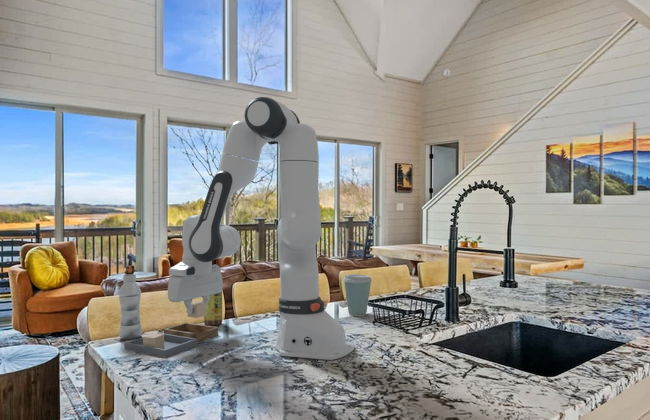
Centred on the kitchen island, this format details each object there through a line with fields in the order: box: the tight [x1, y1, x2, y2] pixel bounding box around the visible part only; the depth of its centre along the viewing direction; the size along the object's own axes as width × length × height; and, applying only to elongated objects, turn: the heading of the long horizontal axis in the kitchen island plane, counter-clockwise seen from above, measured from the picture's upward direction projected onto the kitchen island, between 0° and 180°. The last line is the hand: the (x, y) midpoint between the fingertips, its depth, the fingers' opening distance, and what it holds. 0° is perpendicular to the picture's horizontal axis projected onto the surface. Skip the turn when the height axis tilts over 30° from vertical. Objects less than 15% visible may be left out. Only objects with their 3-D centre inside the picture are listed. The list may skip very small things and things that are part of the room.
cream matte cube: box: [187, 301, 207, 319], centre depth 141 cm, size 4×4×4 cm
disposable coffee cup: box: [343, 273, 372, 317], centre depth 171 cm, size 11×11×15 cm
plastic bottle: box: [118, 273, 143, 341], centre depth 142 cm, size 6×7×20 cm
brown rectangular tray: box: [163, 322, 219, 343], centre depth 143 cm, size 14×9×3 cm, turn 61°
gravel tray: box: [124, 332, 199, 358], centre depth 131 cm, size 16×12×2 cm
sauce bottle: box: [203, 291, 223, 327], centre depth 160 cm, size 6×6×20 cm
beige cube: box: [142, 332, 164, 349], centre depth 129 cm, size 4×4×4 cm
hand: (197, 311), depth 141 cm, fingers closed on cream matte cube, 4 cm apart
